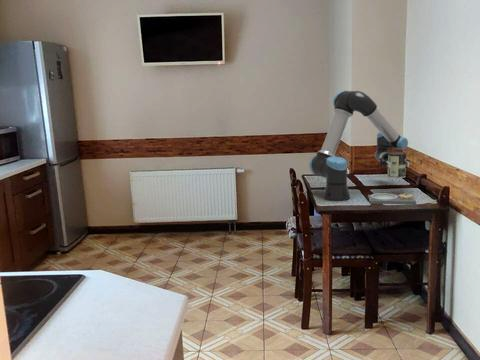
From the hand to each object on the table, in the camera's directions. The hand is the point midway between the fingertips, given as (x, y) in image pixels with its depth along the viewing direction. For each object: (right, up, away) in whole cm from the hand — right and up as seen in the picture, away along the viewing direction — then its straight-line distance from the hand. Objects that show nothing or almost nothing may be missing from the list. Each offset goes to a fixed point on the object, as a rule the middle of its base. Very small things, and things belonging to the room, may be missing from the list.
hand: (399, 165), depth 267 cm
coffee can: (0, -7, +6) cm, 9 cm away
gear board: (-7, -20, -7) cm, 23 cm away
